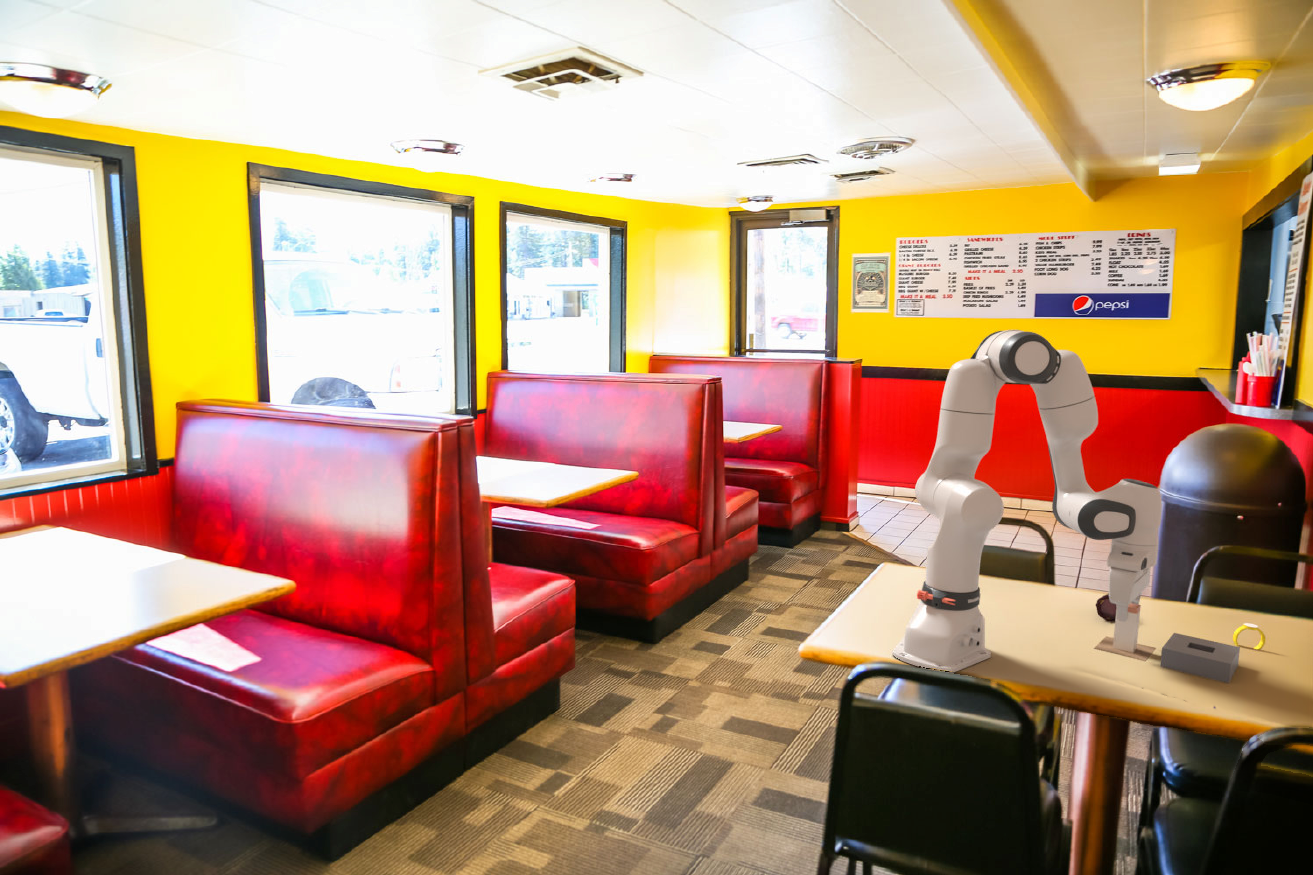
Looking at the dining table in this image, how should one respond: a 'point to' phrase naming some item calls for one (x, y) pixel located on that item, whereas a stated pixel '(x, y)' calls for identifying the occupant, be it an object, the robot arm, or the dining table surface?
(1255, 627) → the watch
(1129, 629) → the plug
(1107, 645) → the pad
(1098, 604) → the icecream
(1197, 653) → the block
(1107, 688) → the dining table surface
